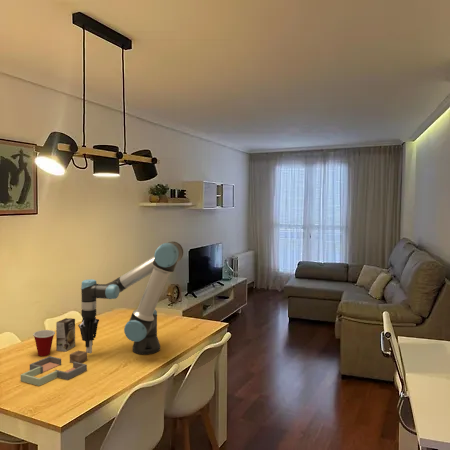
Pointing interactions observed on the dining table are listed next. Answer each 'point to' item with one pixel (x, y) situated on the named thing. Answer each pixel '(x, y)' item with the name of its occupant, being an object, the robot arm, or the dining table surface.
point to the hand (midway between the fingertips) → (89, 352)
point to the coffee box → (65, 334)
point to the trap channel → (49, 364)
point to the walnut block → (78, 357)
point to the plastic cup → (44, 341)
